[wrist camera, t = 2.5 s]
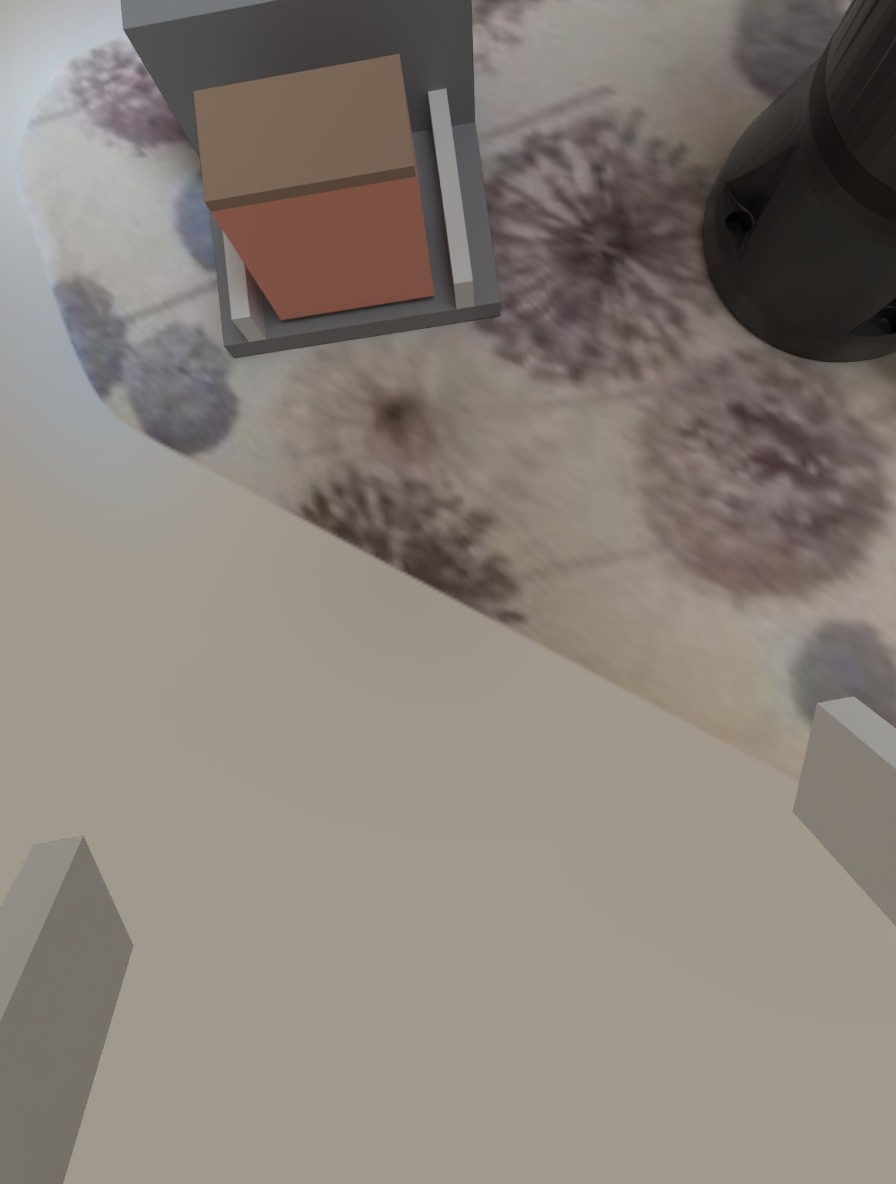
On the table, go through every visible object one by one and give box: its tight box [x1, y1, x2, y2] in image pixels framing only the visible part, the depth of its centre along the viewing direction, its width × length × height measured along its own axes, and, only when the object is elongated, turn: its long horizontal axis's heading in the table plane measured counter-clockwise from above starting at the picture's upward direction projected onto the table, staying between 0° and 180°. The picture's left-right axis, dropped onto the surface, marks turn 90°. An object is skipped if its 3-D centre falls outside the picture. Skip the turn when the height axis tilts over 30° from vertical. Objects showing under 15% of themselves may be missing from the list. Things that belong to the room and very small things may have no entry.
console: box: [121, 0, 501, 358], centre depth 33 cm, size 16×16×11 cm
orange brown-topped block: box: [194, 54, 435, 320], centre depth 31 cm, size 5×9×10 cm, turn 97°
